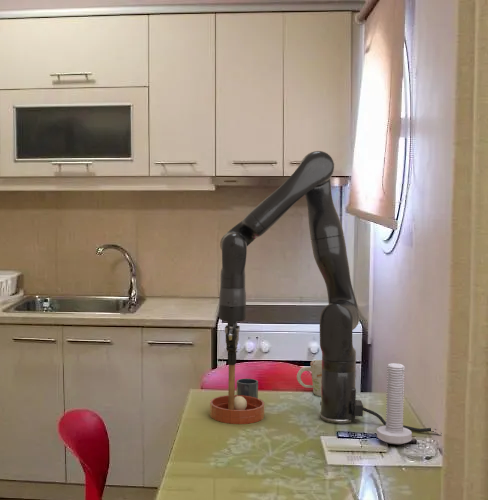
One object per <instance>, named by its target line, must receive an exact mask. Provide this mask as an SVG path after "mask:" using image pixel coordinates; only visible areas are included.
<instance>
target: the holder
mask: <svg viewBox="0 0 488 500" xmlns="http://www.w3.org/2000/svg"><path fill="white" fill-rule="evenodd" d="M236 395H245V396H251V397H255V398H258V399H259V380H258V379H255V378H238V379H236Z"/></svg>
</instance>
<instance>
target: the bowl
mask: <svg viewBox="0 0 488 500" xmlns="http://www.w3.org/2000/svg"><path fill="white" fill-rule="evenodd" d="M237 396H242V397H244V398H245V399H246V401H247V407H246V409H245V410H229V409H228V394H226V395H220V396H216V397H213V398H212V399H210V401H209V416H210V418H211V419H213V420H215V421H218V422H220V423H225V424H230V425H246V424H254V423H257V422H261V421H262V420H264V419H265V401H264V400H263V399H260V398H259V397H258V398H255V397H251V396H245V395H237V394H235V397H237Z"/></svg>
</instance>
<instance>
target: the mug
mask: <svg viewBox="0 0 488 500" xmlns="http://www.w3.org/2000/svg"><path fill="white" fill-rule="evenodd" d="M304 372H310V373H311V382H312V384H305V383H304V382H303V380H302V374H303V373H304ZM296 380H297V382H298V384H299V385H301V387H303V388H306V389H312V392H313V395H315V396H317V397H321V385H322V359H315V360H312V361H310V366H302V367H301V368H300V369H299V370H298V371H297V373H296Z"/></svg>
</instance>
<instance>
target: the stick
mask: <svg viewBox="0 0 488 500" xmlns="http://www.w3.org/2000/svg"><path fill="white" fill-rule="evenodd" d="M227 385H228V388H227V389H228V390H227V395H228V409H229V410H235V395H236V391H235V390H236V364H235V365H228V384H227Z"/></svg>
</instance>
